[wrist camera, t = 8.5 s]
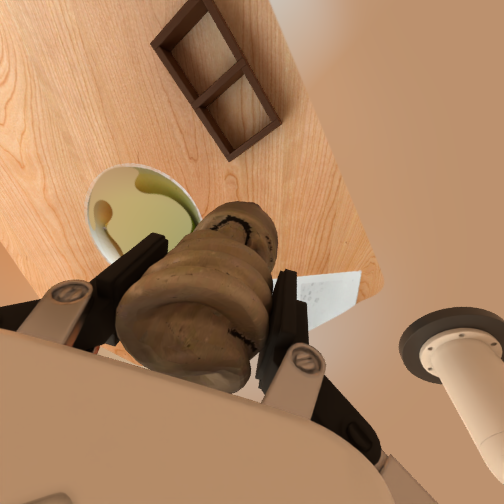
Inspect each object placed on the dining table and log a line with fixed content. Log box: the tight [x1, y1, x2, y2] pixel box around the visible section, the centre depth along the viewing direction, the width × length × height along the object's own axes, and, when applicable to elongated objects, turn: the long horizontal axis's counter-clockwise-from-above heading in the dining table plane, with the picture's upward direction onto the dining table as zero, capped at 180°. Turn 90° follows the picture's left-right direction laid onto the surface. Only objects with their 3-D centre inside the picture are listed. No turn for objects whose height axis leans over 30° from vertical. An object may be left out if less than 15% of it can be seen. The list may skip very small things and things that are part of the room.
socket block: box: [150, 0, 282, 162], centre depth 31 cm, size 16×8×3 cm, turn 34°
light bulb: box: [115, 201, 278, 394], centre depth 14 cm, size 6×6×15 cm
